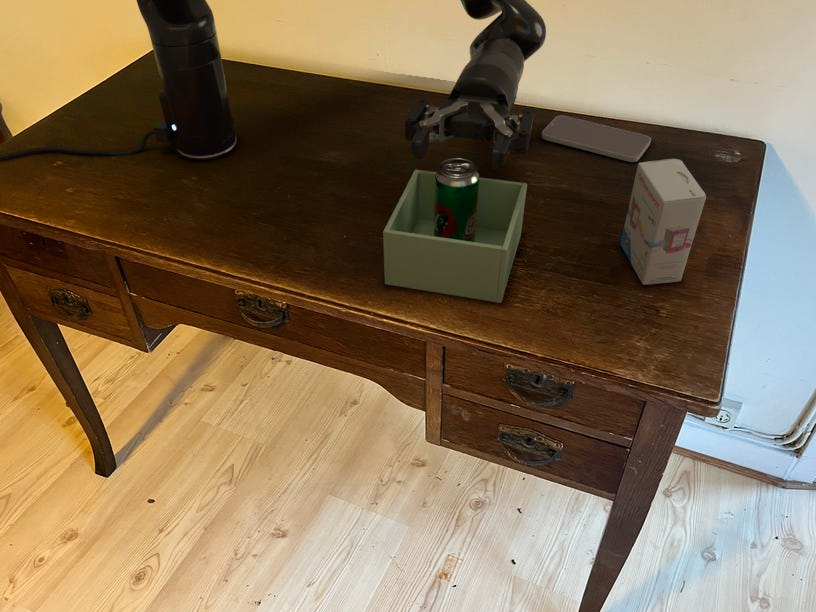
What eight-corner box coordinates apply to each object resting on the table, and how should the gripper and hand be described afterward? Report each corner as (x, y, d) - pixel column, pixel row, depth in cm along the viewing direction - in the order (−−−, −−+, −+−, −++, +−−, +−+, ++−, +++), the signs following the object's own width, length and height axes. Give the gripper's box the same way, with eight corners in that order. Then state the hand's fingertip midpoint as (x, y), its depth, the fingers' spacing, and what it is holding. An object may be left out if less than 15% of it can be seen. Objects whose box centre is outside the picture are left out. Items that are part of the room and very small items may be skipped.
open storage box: (384, 284, 89) (382, 231, 83) (414, 220, 98) (414, 169, 93) (501, 303, 85) (507, 249, 80) (520, 234, 95) (527, 183, 90)
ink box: (616, 244, 93) (637, 159, 84) (655, 240, 93) (679, 155, 84) (640, 286, 86) (665, 199, 78) (682, 282, 87) (711, 195, 78)
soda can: (472, 267, 89) (478, 180, 81) (430, 263, 90) (432, 177, 82) (475, 243, 93) (481, 157, 85) (435, 240, 94) (438, 155, 85)
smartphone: (636, 159, 105) (539, 133, 111) (635, 164, 106) (538, 139, 112) (653, 137, 110) (558, 114, 116) (651, 142, 110) (558, 119, 116)
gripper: (429, 57, 90) (392, 117, 79) (546, 67, 86) (525, 131, 75) (428, 115, 95) (393, 178, 84) (539, 127, 92) (517, 194, 81)
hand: (455, 156), depth 80 cm, fingers open, 8 cm apart
